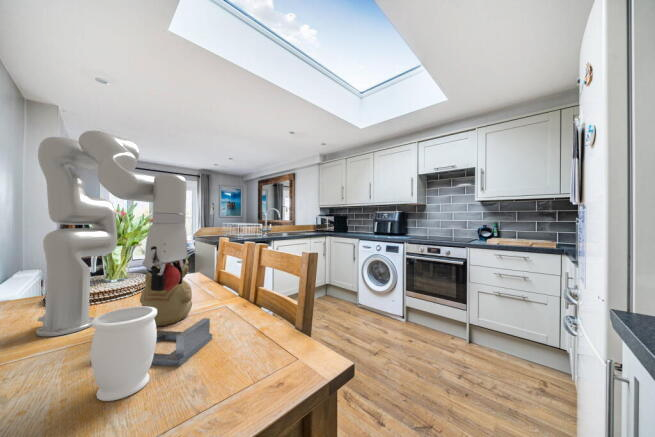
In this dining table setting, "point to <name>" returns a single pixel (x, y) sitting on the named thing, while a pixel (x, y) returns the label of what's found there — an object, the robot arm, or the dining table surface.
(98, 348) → the jar
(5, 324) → the dining table surface
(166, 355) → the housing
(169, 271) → the onion
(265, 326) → the dining table surface
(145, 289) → the ceramic vessel
